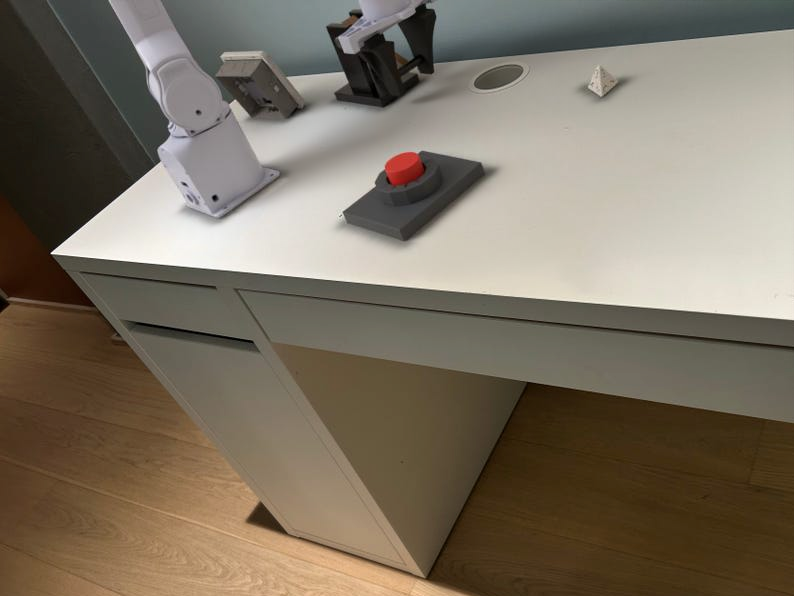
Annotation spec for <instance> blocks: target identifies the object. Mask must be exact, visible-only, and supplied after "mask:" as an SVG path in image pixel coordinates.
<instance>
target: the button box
mask: <svg viewBox="0 0 794 596" xmlns="http://www.w3.org/2000/svg"><path fill="white" fill-rule="evenodd" d="M417 154H418V155H419V157H420V160H421V163H422V165H423V168H424V174H423V175H422V176H420V177H419V178H418V179H417V180H415V181H413V182H410V183H408V184H404V185H397V186H394V185H392V184H391V183H390V180H389V178H388V175H387V173H386V171H385V168H384V169H383V170H381V171H380V172H378V175H377V177H376V178H375V180H374V185H375V186H374V187H373V188H371V189H370V190H368V191H367V192H366V193H365V194H363V195H362V196H361V197H360V198H358V199H357V200H355V202H353V203H352V204H350V206H348V207H347V208H346V209H344V210H343V211H341V212H342V214H343V217H344V219H345V221H346V223H347V224H350V225H352V226H355V227H359V228H362V229H365V230H367V231H371V232H375V233H377V234H381V235H384V236H385V237H388V238H389V237H390V238H393V239H395V240H399V241H402V242H406V241H407V240H408V239H409V238H411V237H412V236H413V235H414V234H415V233H417V232H418V231H419V230H420V229H421V228H422V227H424V226H425V225H426V224H427V223H428V222H430V221H431V220H432V219H433V218H434V217H435V216H437V215H438V214H440V213H441V212H442V211H443V210H444V209H445V208H447V206H449V205H450V204H451V203H452V202H454V201H455V200H456V199H457V198H458V197H459V196H460V195H462V194H463V193H464V192H465V191H466V190H468V189H469V188H470V187H471V186H472V185H474V184H475V183H476V182H478V181H479V180H480V179H481V178H482V177H483V176H484V175H485V170H484V166H483V163H482V162H481V161H476V160H471V159H466V158H462V157H457V156H451V155H446V154H441V153H437V152H431V151H427V150H420V151H419V152H417Z"/></svg>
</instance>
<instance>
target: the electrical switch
mask: <svg viewBox="0 0 794 596" xmlns="http://www.w3.org/2000/svg"><path fill="white" fill-rule="evenodd" d="M219 57H220V59H221V61H222V62H223V63H222V65H221V66H220V68H219V70H218V71H217V73H216V74H215V78H216V80H218V82H219V83H220V84H221V85H222V86H223V87H224V88H225V89H226V91H227V92H228V93H229V94H230V95H231V96H232V97H233V99H235V102H237V103H238V104H239V105H240V107H242V109H243V111H245V112H246V113H247V114H248V115H249V116H250V118H253V117H254V118H269V119H286V120H287V119H288V118H289V117H290V115H291V114H293V112H294V111H295V109H304V107H305V105H306V100H305V99H304V97H302V95H301V94H300V93H299V91H298V90H297V88H295V86H294V85H293V84H292V82H291V81H290V80H289V79H288V78H287V76H286V74H285V73H284V72H283V71H282V69H281V68H280V67H279V66H278V65H277V63H276V62H275V61H274V60H273V58H272V57H271V55H269V53H267V52H266V51H264V50H250V51H248V50H247V51H224V52H223V53H222V54H221V55H220V56H219Z"/></svg>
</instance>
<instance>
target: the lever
mask: <svg viewBox="0 0 794 596" xmlns="http://www.w3.org/2000/svg"><path fill="white" fill-rule="evenodd" d="M358 20H359V19H358V18H357V17H355V16H354V15H353V16H351V17H350V16H349V17H348V18H346V19H344V20H343V21H341V22H340V24H352V25H354V24H355V23H356V22H357V21H358ZM395 57H396V63H397V67H398V71H399V74H400V77H403V76H404V75H406V74H407V73H408V72H409V73H411V72H412V71H413V70H414V69H416V68H417V66H418V65H420V64H421V63H423V62H424V58H423V56H422V55H421V54H418V55H417V56H415V57H412V58H411V59H409V60H408V59H406V58H405V57H404V56H402V55H400V54H399V53H398V52H396V51H395Z"/></svg>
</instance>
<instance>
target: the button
mask: <svg viewBox="0 0 794 596" xmlns="http://www.w3.org/2000/svg"><path fill="white" fill-rule="evenodd" d="M384 169H385V171H386V173H387V175H388V178H389V180H390V183H391V184H392V185H394V186H397V185H404V184H408V183H410V182H413V181H415V180H417V179H418V178H419V177H420V176H422V175H423V174H424V168H423V165H422V163H421V160H420V157H419V155H418V152H414V151H406V152H402V153H398V154H397V155H395V156H392V157H391V158H390V159H388V160H387V161H386V162H385V164H384Z"/></svg>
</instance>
